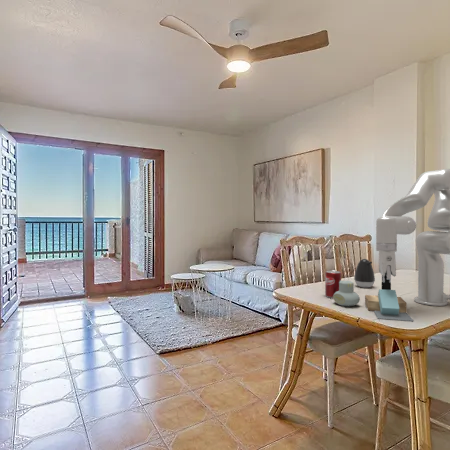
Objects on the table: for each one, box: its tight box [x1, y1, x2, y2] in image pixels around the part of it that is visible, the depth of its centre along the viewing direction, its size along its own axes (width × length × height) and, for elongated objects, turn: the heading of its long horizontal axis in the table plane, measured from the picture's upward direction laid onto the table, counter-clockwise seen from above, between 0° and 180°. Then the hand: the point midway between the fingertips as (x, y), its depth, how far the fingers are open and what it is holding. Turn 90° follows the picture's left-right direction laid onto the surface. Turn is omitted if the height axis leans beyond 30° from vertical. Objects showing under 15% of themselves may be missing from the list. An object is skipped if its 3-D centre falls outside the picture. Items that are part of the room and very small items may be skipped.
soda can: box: [324, 270, 342, 299], centre depth 156 cm, size 7×7×12 cm
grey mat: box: [373, 311, 414, 322], centre depth 126 cm, size 12×10×1 cm
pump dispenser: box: [353, 258, 376, 289], centre depth 176 cm, size 10×10×15 cm
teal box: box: [377, 288, 400, 315], centre depth 129 cm, size 6×9×4 cm
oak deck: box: [364, 294, 408, 314], centre depth 136 cm, size 14×10×4 cm
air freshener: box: [332, 280, 361, 307], centre depth 142 cm, size 11×8×10 cm
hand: (386, 291), depth 133 cm, fingers closed
